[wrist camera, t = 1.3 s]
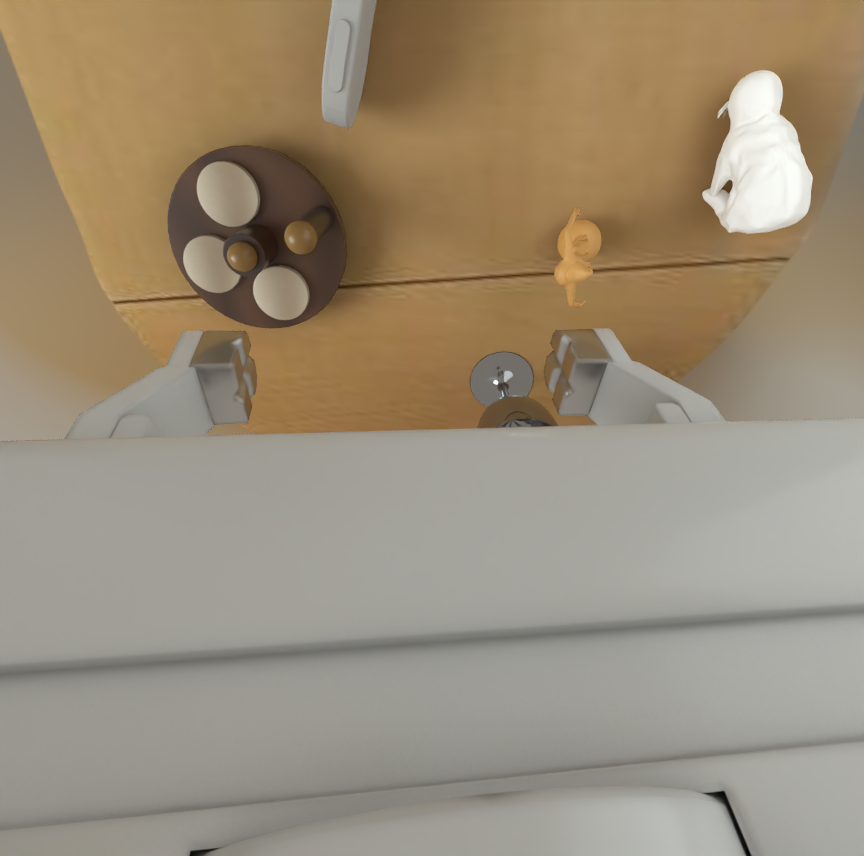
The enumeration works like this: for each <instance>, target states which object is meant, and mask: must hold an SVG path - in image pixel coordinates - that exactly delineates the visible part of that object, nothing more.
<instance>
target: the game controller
mask: <svg viewBox="0 0 864 856" xmlns="http://www.w3.org/2000/svg"><path fill="white" fill-rule="evenodd" d="M376 2H377V0H332V7H331V15H330V22H329V29H328V37H327V44H326V52H325V60H324V68H323V79H322V113H323V117H324V119H325V121H326V122H328V123H331V124H334V125H337V126H340V127H344V128H347V129H349V128H351V127H352V125H353V123H354V121H355V118H356V115H357V112H358V108H359V104H360V100H361V95H362V91H363V86H364V80H365V75H366V69H367V62H368V55H369V47H370V39H371V32H372V25H373V20H374V14H375V8H376Z"/></svg>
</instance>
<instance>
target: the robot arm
mask: <svg viewBox="0 0 864 856" xmlns="http://www.w3.org/2000/svg"><path fill="white" fill-rule="evenodd" d="M550 344H551V346H552V348H553V351H552V352H551V353H550V354H549V355H548V356H547V358H546V363H545V369H544V377H545V383H546V385H547V388H548V390H550V391H551V392H553V393H554V395H553V399H552V400H553V403H554V405H555V407H556V410H557V412H558V414H559V415H589V416H588V417H589V418H590V419H592V420H593V421H594V422H595V423H596V424H597V425H580V426H544V427H507V428H470V429H434V430H397V431H360V432H323V433H286V434H250V435H215V436H214V435H212V436H205V435H206V434H207V433H208V432H209V431H210V430H211V429H212V428H213V427H214V425H219V424H240V423H248V421H249V417H250V413H251V409H252V403H251V399H250V398H251V397H252V396H254V395H255V392H256V386H257V374H256V366H255V362H254V359H252V358H251V357H250V356H249V351H250V347H251V344H250V340H249V336H248V334H247V333H246V331H184V332H182V333H181V335H180V337H179V340H178V342H177V344H176V346H175V348H174V350H173V352H172V354H171V357H170V359H169V361H168V363H167V365H166V367H161V368H158V369H156V370H154V371H153V372H151V373H149V374H147V375H146V376H144V377H142V378H141V379H139V380H137V381H136V382H134V383H132V384H130V385H129V386H127V387H125V388H124V389H122V390H120V391H118V392H117V393H115V394H113V395H112V396H110V397H108V398H107V399H105V400H103V401H101V402H100V403H98V404H96V405H95V406H93V407H91V408H89V409H88V410H86V411H84V412H83V413H81V414H79V416H78V417H77V419H76V421H75V422H74V424H73V426H72V427H71V429H70V431H69V432H68V434H67V435H66V437H65V439H64V440H30V441H29V440H27V441H0V856H864V418H840V419H839V418H838V419H806V420H805V419H804V420H768V421H734V422H733V421H730V422H726V420H725V419H724V418H723V417H722V415H721V414H720V413H719V411H718V410H717V409H716V407H715V406H714V405H713V403H712V402H711V401H710V400H708V399H706V398H704V397H702V396H701V395H699V394H697V393H695V392H693V391H691V390H690V389H688V388H686V387H684V386H682V385H680V384H678V383H677V382H675V381H673V380H671V379H669V378H667V377H665V376H664V375H662V374H660V373H658V372H656V371H654V370H652V369H650V368H649V367H647V366H645V365H643V364H641V363H639V362H637V361H632V360H631V359H630V357H629V356H628V354H627V353H626V351H625V350H624V348H623V347H622V345H621V344H620V342H619V340H618V339H617V337H616V336H615V334H614V333H613V331H612V330H611V329H609V328H602V329H579V330H555V332H554V333H553V335H552V339H551V342H550Z"/></svg>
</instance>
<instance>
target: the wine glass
mask: <svg viewBox="0 0 864 856" xmlns="http://www.w3.org/2000/svg"><path fill="white" fill-rule="evenodd" d="M532 384H533V372H532V369H531V367H530V365H529V364H528V362H527V361H526V360H525V359H524V358H522V357H521V356H519V355H517V354H515V353H510V352H497V353H493V354H491V355H488V356H486V357H485V358H483V359H482V360H481V361H480V362H478V364H477V365H476V366H475V368H474V369H473V371H472V374H471V378H470V386H471V390H472V393H473V395H474V396H475V397H476V399H477V400H478V401H479V402H481V403H482V404H484V405H486V406H488V407H487V408H486V409H485V411H484V412H483V414H482V416H481V417H480V420H479V423H478V426H477V428H507V427H544V426H558V424H557V422H556V421H555V419H554V418H553V416H552V415H551V414H550V413H549V411H548V410H547V409H546V408H545V407H543V406H542V405H541V404H540V403H539V402H537V401H536V400H534V399H532V398H530V397H527V395H528V393H529V392H530V390H531V387H532Z"/></svg>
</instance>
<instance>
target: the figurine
mask: <svg viewBox="0 0 864 856" xmlns="http://www.w3.org/2000/svg"><path fill="white" fill-rule="evenodd" d="M580 211H581V210H578V208H577V209H575V208H574V209H573V212H572V216H571V217H570V219H569V221H568V223H567V225H566V226H565V227H564V228H563V229H562V231H561V233H560V235H559V237H558V243H557V246H558V251H559V253H560V255H561V257H562V258H563V259H562V260H561V261H560V263H559V264H558V265H557V267H556V269H555V279H556V281H557V282H558V283H559V284H560V285H563V286H564V287H565V288H566V291H567V297H568V304H569V306H570V307H581V306H582V305H583V304H584V302H585V300H584V301H583V302H582V303H579V302H575V289H576V287H577V285H578V284H579V283H580V282H581V281H582V280H585V279H588V278H589V277H591V275H592V273H593V270H592V268H590V263H589V261H590V260H592V259H593V258H594V257H595V256H596V255H597V253H598V252H599V250H600V247H601V242H602V238H601V233H600V231H599V229H598V227H597V226H596V225H595V224H594V223H592V222H590V221H588V220H575V219H576V215H581V214H579V212H580Z"/></svg>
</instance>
